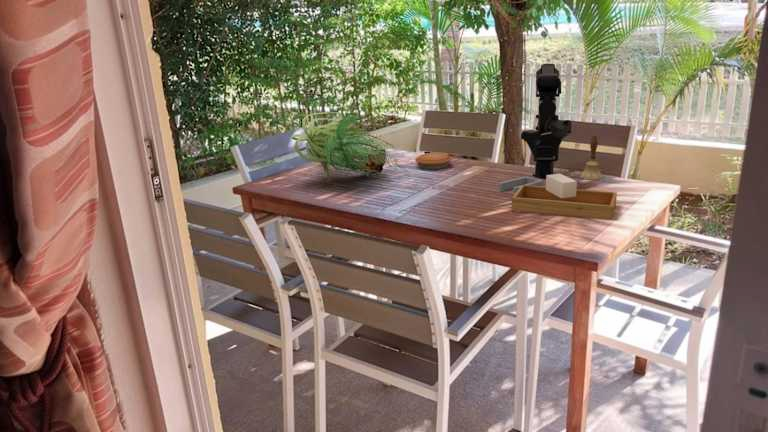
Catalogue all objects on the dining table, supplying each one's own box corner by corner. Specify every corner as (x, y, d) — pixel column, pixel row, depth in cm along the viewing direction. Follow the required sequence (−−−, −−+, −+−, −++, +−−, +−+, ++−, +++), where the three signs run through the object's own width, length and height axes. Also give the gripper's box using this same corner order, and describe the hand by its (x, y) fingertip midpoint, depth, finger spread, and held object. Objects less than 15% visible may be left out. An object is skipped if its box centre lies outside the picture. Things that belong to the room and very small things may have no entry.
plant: (416, 166, 226) (322, 131, 206) (368, 221, 247) (278, 194, 227) (402, 106, 248) (315, 69, 228) (358, 161, 269) (275, 131, 249)
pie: (454, 162, 260) (454, 150, 259) (449, 171, 246) (449, 159, 244) (419, 162, 264) (418, 150, 262) (412, 171, 250) (411, 159, 248)
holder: (526, 183, 224) (526, 176, 223) (543, 189, 217) (543, 181, 216) (499, 190, 218) (499, 182, 217) (515, 196, 210) (515, 188, 209)
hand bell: (606, 175, 228) (609, 134, 222) (598, 181, 222) (600, 138, 216) (585, 172, 233) (587, 132, 228) (576, 178, 227) (578, 136, 222)
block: (575, 196, 192) (576, 181, 190) (561, 198, 191) (562, 183, 189) (559, 187, 201) (559, 173, 199) (545, 189, 200) (546, 175, 198)
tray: (615, 207, 197) (617, 190, 195) (611, 223, 184) (613, 205, 182) (521, 200, 209) (521, 184, 207) (511, 214, 196) (511, 197, 194)
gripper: (544, 118, 196) (542, 165, 202) (584, 111, 205) (582, 155, 210) (520, 114, 206) (519, 159, 211) (559, 107, 214) (558, 150, 220)
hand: (545, 156), depth 213 cm, fingers open, 9 cm apart
